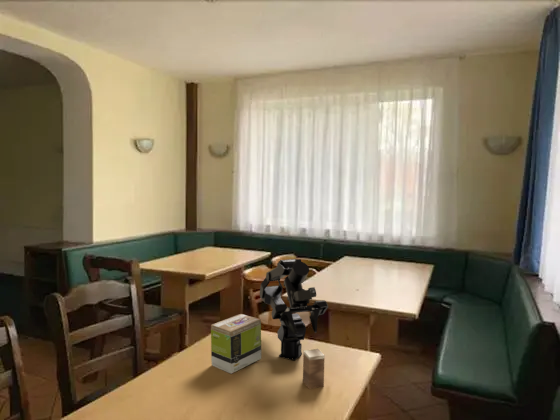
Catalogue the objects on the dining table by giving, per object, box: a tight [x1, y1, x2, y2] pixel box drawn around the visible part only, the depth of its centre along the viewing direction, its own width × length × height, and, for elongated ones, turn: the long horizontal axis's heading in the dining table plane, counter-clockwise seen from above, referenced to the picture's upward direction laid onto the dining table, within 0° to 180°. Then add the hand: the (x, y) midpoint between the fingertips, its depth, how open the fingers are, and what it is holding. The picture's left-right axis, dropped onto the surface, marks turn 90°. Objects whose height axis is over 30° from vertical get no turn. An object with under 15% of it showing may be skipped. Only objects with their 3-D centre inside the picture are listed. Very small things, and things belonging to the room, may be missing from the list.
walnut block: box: [302, 348, 325, 390], centre depth 134 cm, size 5×5×10 cm
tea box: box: [210, 313, 262, 374], centre depth 147 cm, size 15×10×15 cm, turn 141°
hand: (306, 333), depth 140 cm, fingers open, 7 cm apart
